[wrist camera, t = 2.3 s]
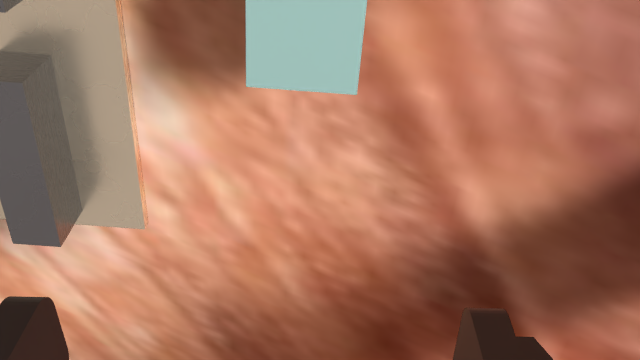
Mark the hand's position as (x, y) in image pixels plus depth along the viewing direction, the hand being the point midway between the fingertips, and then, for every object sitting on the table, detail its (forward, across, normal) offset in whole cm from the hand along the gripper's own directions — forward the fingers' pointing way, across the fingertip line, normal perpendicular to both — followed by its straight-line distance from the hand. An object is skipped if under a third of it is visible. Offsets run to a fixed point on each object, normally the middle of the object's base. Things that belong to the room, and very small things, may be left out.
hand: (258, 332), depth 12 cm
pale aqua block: (+18, -1, -3) cm, 18 cm away
